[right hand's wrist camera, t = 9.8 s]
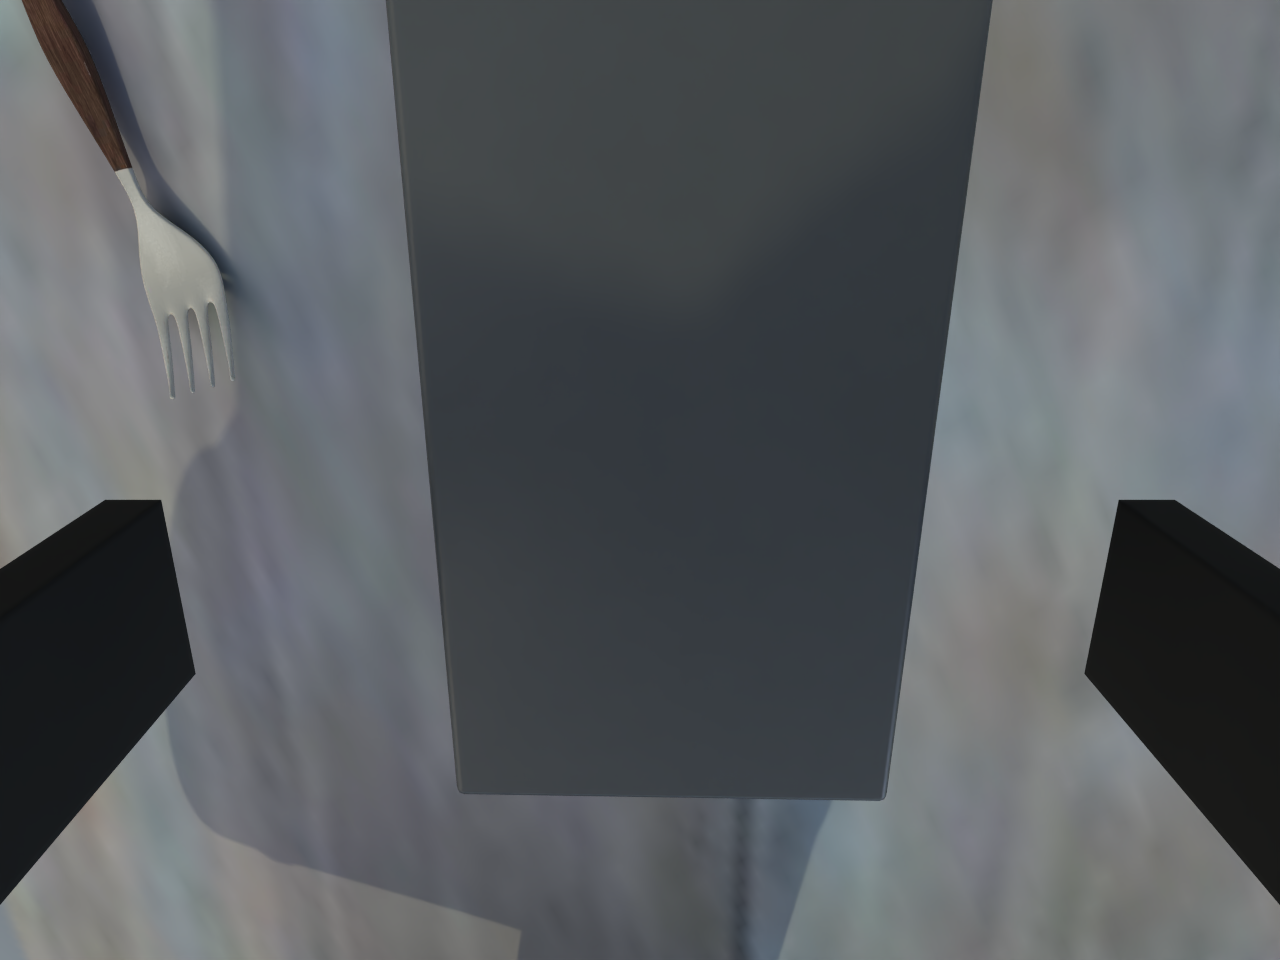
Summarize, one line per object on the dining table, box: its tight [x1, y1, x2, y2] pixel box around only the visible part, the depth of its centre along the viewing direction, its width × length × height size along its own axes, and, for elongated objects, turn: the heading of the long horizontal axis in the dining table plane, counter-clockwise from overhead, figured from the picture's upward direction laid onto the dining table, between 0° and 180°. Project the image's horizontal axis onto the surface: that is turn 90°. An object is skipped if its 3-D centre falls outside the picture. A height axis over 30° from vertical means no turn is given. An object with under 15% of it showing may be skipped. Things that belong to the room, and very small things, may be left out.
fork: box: [22, 0, 235, 399], centre depth 27 cm, size 3×16×2 cm, turn 16°
